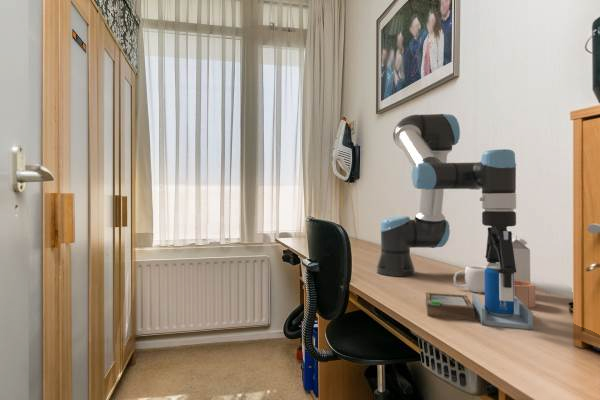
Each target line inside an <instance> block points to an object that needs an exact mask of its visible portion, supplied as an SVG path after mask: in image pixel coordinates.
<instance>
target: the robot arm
mask: <svg viewBox="0 0 600 400" xmlns="http://www.w3.org/2000/svg"><path fill="white" fill-rule="evenodd" d="M392 136H393V141H394V144H395V145H396V146H397V148H399V149H401V150H402V151H403V152H404V155H405V156H406V158H407V159H408V161H409V163H410V164H411V166H412V168H411V169H412V171H411V180H412V181H411V182H412V185H413V187H414V188H415V189H417V190H420V199H419V210H418V212H416V213H415V215H414V219H411V218H410V216H409V215H407V216H405V215H404V216H394V217H389V218H384V219H383V220H382V221H381V224H380V257H379V260H378V263H377V266H376V273H377V274H381V275H384V276H389V277H390V276H391V277H410V276H413V275H414V274H415V267H414V263H413V260H412V257H411V248H415V249H416V248H421V249H422V248H427V249H428V248H429V249H431V248H432V249H434V248H442V247H444V246H445V245H446V244H447V243H448V241H449V238H450V233H451V229H450V223H449V221H448V220H447V219H446V216H445V215H444V214H443V212H442V211H443V202H444V191H445V190H481V194H482V195H481V196H482V197H480V198H479V201H480V202H482V205H481V208H482V209H483V211H482V212H481V214H482V215H481V217H482V218H481V223H482V225H483V226H486V227H487V226H488V227H487V241H486V251H485V256H484V257H485V259H486V262H487V263H486V264H487V265H500V269H498V273H499V289H500V300H501V301H513V274H514V273H516V266H515V259H514V252H513V245H512V238H513V233H512V231H511V230H509V231H508V227H515V226H516V225H517V212H515V211H514V210H515V209H517V193H516V189H517V187H516V186H517V185H516V184H517V182H516V180H517V177H516V176H517V174H516V173H517V162H516V154H515V151H514V150H512V149H509V148H507V149H500V148H499V149H490V150H485V151H483V152H482V154H481V159H480V161H479V162H477V161H476V162H447V161H448V154H450V152H452V151H453V146H456V145H457V144H458V143H459V140H460V137H461V129H460V124H459V121H458V119H457V118H456V116H455V115H453V114H450V113H449V114H448V113H445V114H444V113H437V114H436V113H435V114H434V113H431V114H411V115H408V116H405V117H403V118H402V119H401V120H400V121H398V122H397V124H396V125H395V127H394V129H393V133H392ZM487 265H486V266H487Z"/></svg>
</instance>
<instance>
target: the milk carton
mask: <svg viewBox="0 0 600 400" xmlns="http://www.w3.org/2000/svg"><path fill="white" fill-rule="evenodd" d="M517 238H518V236H517V235H516V234H515V233H512V245H513V252H514V259H515V266H516V273H514V280H520V281H526V282H531V249H530V248H529V247H528V246H526V245H527V244H528V241H526V240H525V239H523V238H520V239H519V240H518V239H517Z"/></svg>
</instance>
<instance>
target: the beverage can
mask: <svg viewBox="0 0 600 400" xmlns="http://www.w3.org/2000/svg"><path fill="white" fill-rule="evenodd" d="M486 267H487V268H486V269H485V293H484V305H485V310H486V311H488V313H489V314H492V315H495V316H500V317H509V316H510V315H512V314H514V274H513V301H501V300H500V289H499V273H498V269H500V264H499V265H486Z"/></svg>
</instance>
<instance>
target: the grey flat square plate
mask: <svg viewBox="0 0 600 400" xmlns="http://www.w3.org/2000/svg"><path fill="white" fill-rule="evenodd" d="M431 300H439V301H440V304H449V305H462V306H467V304H466V302H465V301H464V299H463V297H453V296H440V295H431Z"/></svg>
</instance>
